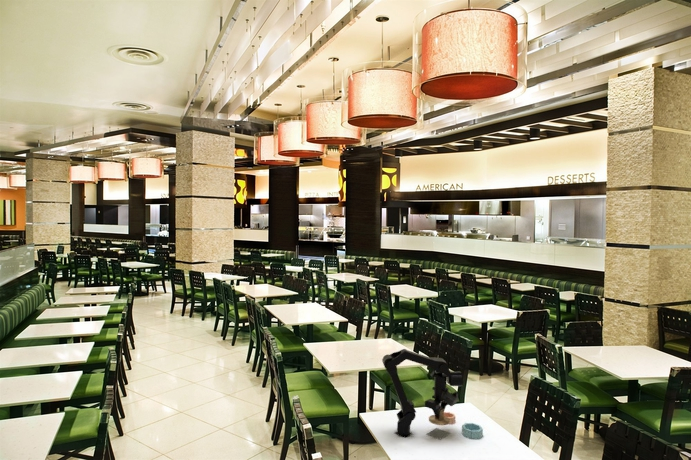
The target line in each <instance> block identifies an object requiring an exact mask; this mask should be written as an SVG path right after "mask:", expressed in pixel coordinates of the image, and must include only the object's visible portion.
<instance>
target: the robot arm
mask: <svg viewBox="0 0 691 460" xmlns="http://www.w3.org/2000/svg"><path fill="white" fill-rule="evenodd" d="M406 360H408V361H410V362H412V363H413V362H414V363H416V364H420V365H423V366H425V367H429V368H430V369H432V370H433V371H432V372H431V373H430V374H429V375H430V376H431V378H434V383H433V384H434V385H433V387H432V390H433V395H432V396H431V397H432V399H431V398H429V399H426V400H425V401H424V408H425V407H426V408H427V409H430V410H432V412H433V415H435V416H436V419H439V414H440V409H441V408H443V409H444V411H445V410H446V407H447V406H450V407H453V406H455V405H456V404H457V401H459V393H458V392H456V391H454V392H449V387H447V384H448V385H449V386H450V387H463V386H464V380H463V379H464V378H463V375H462V374H463V373H462V372H461V371H459V370H458V371H451V370H450V369H449V365H448V363H447V362H446V360H444V358H442V357H436V356H435V357H431V356H430V357H429V356H427V355H423V354H420V353H417V352H415V351H414V352H413V351H412V350H411V351H410V350H408V349H406V348H403V349H400V350H398V351H395V352H392V353H389V354H386V355H384V356H383V358H382V359H381V361H382V364H383V367H384V368H385V370H386V372H387V373H388V375H389V377H390V379H391V382H392V385H393V387H394V389H395V392H396V395H397V397H398V400H399V406H400V411H398V412H397V413H396V417H397V419H398V420H397V424H396V425H397V426H396V427H397V428H396V429H397V430H396V431H395V432H394V434H395V435H398V436H399V437H402V438H408V437H410V436H411V435H413V432H411V425H412V422H413V421H414V420H415V419H416V413H417V411H416V409H415V405H414V403H413V401H412V399H410V400H409V399H408V398H407V394H406V393H405V390H404V388H403V384H402V382H401V379H400V376H399V372H398V366H399V365H400V364H402V363H403V362H404V361H406Z"/></svg>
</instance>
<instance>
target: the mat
mask: <svg viewBox="0 0 691 460" xmlns="http://www.w3.org/2000/svg"><path fill="white" fill-rule="evenodd" d="M450 434H452V433H451V432H449V431H447V430H444V429H441V428H438V427H436V428H434V429H432V430H430V431H429V432H427V433H425V435H427V436H429V437H432V438H434V439H437V440H439V441H441V440H442V439H444V438H446V437H448V436H449V435H450Z"/></svg>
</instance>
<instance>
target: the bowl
mask: <svg viewBox="0 0 691 460" xmlns="http://www.w3.org/2000/svg"><path fill="white" fill-rule="evenodd" d="M483 432H484V429H483V427H482V426H481V425H480V424H477V423H474V422H464V423H463V424H462V425H461V433H462V436H463V437H465V438H466V439H467V438H468V439H469V440H470V439H471V440H479V439H481V438H482V436H483Z"/></svg>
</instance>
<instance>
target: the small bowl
mask: <svg viewBox="0 0 691 460" xmlns="http://www.w3.org/2000/svg"><path fill="white" fill-rule="evenodd" d="M444 416H446V417H448V418H449V419H450V423H449V424H448V425H453V424H455V422H456V415H455V413H453V412H450V411H448V412H447V411H444Z"/></svg>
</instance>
